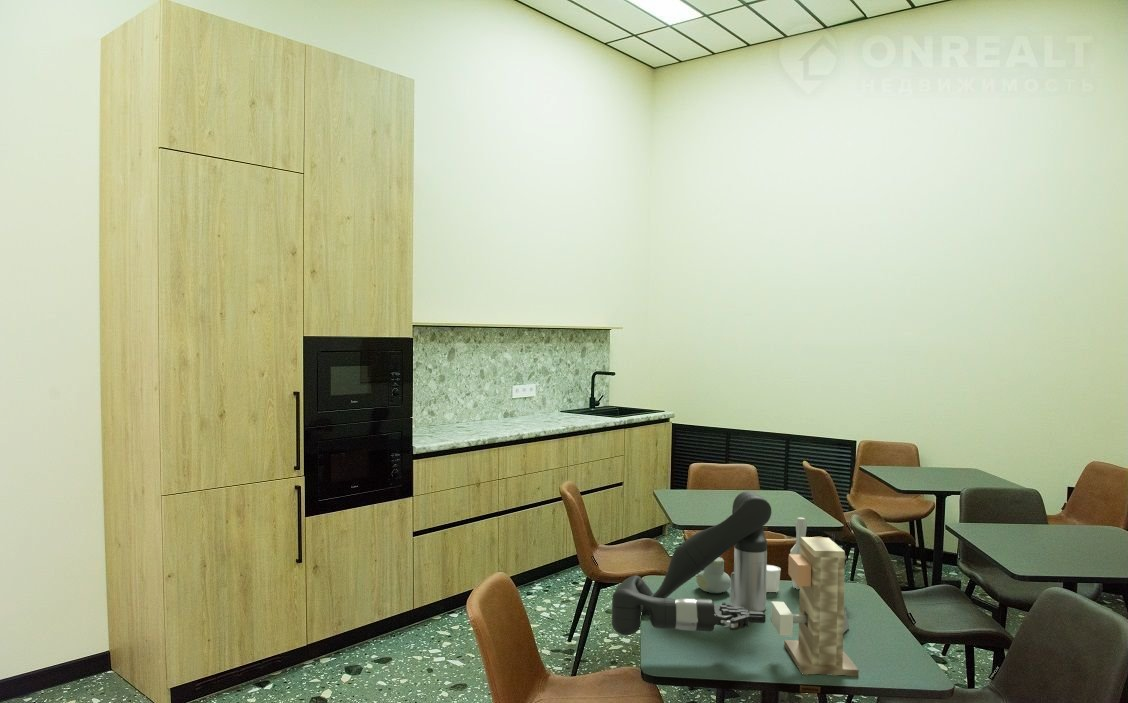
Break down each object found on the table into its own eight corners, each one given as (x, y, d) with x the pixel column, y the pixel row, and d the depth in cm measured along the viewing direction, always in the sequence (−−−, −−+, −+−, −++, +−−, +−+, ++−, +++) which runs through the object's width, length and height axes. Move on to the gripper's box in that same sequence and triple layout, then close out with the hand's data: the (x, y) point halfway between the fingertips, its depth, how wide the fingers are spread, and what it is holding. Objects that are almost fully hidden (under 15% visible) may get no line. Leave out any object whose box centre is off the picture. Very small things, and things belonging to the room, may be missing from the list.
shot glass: (768, 594, 224) (768, 572, 224) (753, 588, 230) (753, 565, 230) (785, 591, 227) (785, 569, 227) (769, 584, 234) (769, 563, 233)
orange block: (821, 575, 182) (821, 555, 182) (832, 587, 173) (833, 566, 173) (788, 574, 183) (788, 554, 183) (798, 586, 174) (798, 565, 174)
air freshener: (693, 586, 231) (693, 554, 231) (716, 583, 234) (717, 552, 234) (710, 597, 221) (711, 565, 221) (734, 595, 224) (735, 562, 223)
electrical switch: (838, 639, 191) (835, 603, 192) (818, 635, 195) (816, 600, 195) (850, 628, 199) (847, 593, 199) (830, 625, 202) (828, 591, 202)
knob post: (836, 647, 186) (838, 535, 186) (858, 676, 170) (860, 554, 170) (784, 645, 187) (786, 534, 186) (801, 674, 171) (804, 552, 170)
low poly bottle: (786, 584, 234) (787, 515, 234) (805, 583, 235) (806, 515, 235) (794, 591, 228) (795, 520, 228) (813, 590, 229) (815, 520, 228)
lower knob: (803, 622, 183) (804, 602, 183) (814, 636, 174) (814, 615, 174) (771, 621, 183) (771, 601, 183) (779, 635, 174) (780, 614, 174)
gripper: (689, 619, 186) (758, 622, 185) (696, 640, 173) (770, 644, 172) (690, 590, 186) (759, 593, 185) (697, 609, 173) (771, 612, 172)
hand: (764, 617), depth 179 cm, fingers closed
